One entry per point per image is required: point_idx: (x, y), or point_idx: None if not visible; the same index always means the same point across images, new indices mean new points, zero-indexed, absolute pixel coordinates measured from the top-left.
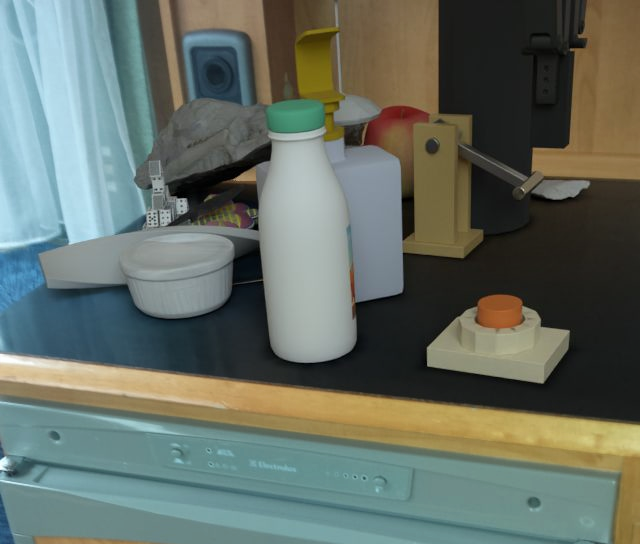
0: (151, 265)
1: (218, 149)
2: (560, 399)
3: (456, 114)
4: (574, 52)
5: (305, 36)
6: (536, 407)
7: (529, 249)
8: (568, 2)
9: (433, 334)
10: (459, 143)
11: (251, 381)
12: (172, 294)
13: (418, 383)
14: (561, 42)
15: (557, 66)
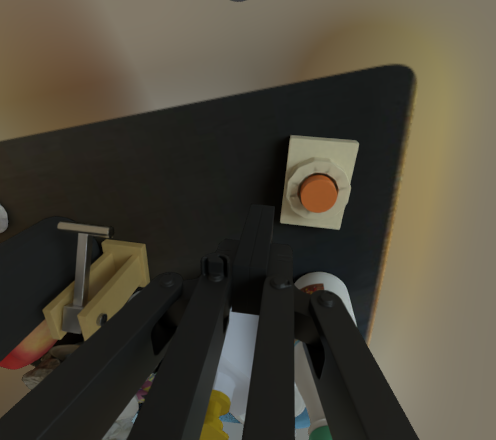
0: (297, 403)
1: (123, 428)
2: (381, 121)
3: (47, 321)
4: (235, 264)
5: None
6: (396, 136)
7: (108, 204)
8: (274, 340)
9: (282, 231)
10: (80, 301)
11: (372, 309)
12: None
13: (364, 221)
14: (328, 295)
15: (283, 273)
